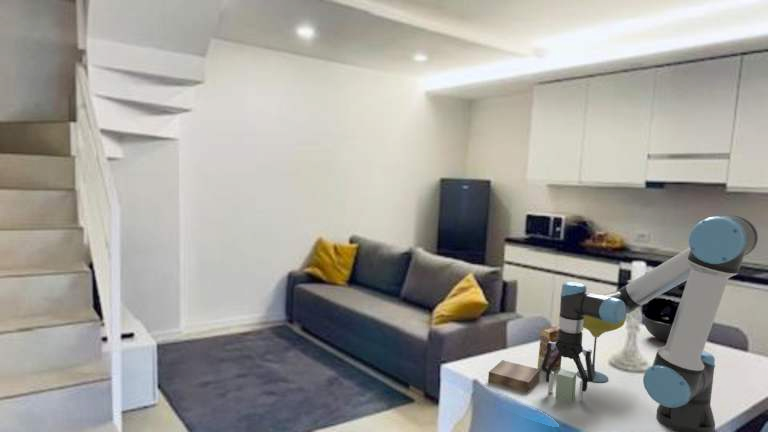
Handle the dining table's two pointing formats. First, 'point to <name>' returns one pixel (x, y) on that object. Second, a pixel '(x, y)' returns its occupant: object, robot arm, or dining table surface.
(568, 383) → the sage block
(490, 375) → the walnut plinth
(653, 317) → the coal bowl
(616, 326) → the cocktail glass
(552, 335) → the candy box
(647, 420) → the dining table surface
